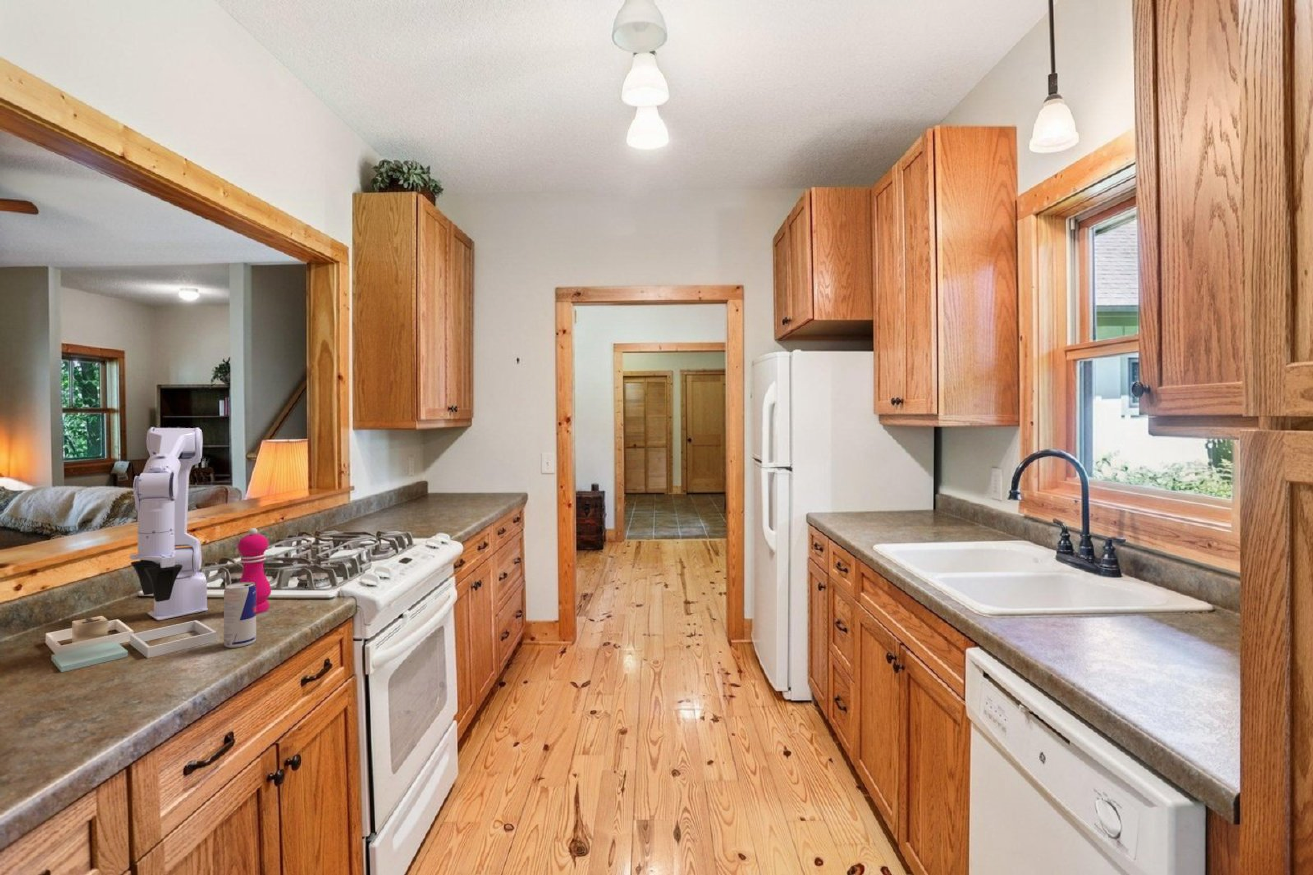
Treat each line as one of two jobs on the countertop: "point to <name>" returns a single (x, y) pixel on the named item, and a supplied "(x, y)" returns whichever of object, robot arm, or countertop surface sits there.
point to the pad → (88, 656)
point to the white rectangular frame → (151, 651)
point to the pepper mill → (255, 566)
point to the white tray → (67, 634)
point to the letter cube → (89, 628)
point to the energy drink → (239, 614)
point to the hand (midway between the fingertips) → (156, 597)
